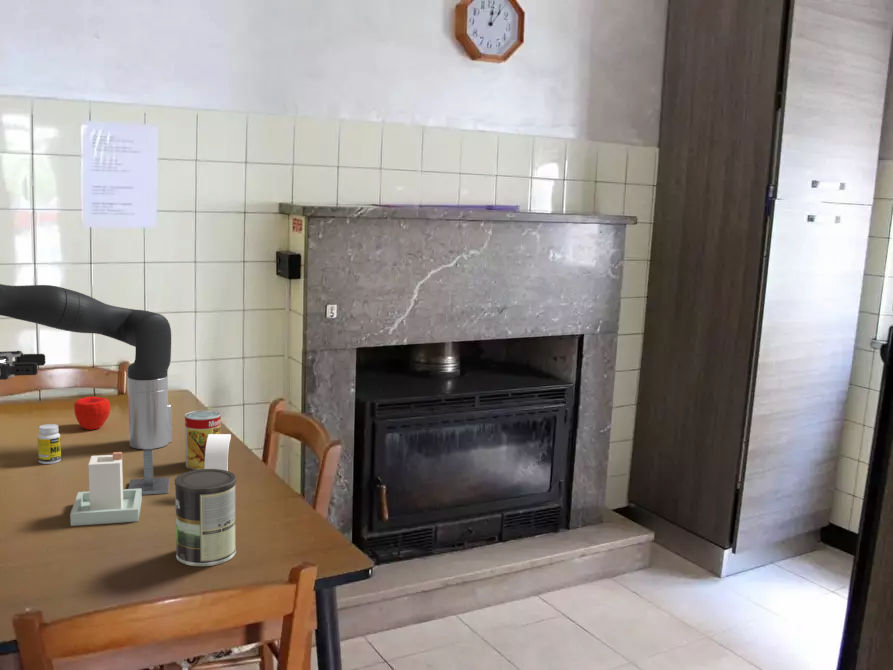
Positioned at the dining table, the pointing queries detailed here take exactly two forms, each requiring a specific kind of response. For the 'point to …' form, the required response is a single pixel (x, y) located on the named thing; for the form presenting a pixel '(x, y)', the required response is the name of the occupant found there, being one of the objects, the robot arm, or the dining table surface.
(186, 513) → the coffee can
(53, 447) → the supplement bottle
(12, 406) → the dining table surface
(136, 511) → the tray
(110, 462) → the open-top white box
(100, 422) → the apple
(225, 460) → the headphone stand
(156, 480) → the post
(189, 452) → the canned food
